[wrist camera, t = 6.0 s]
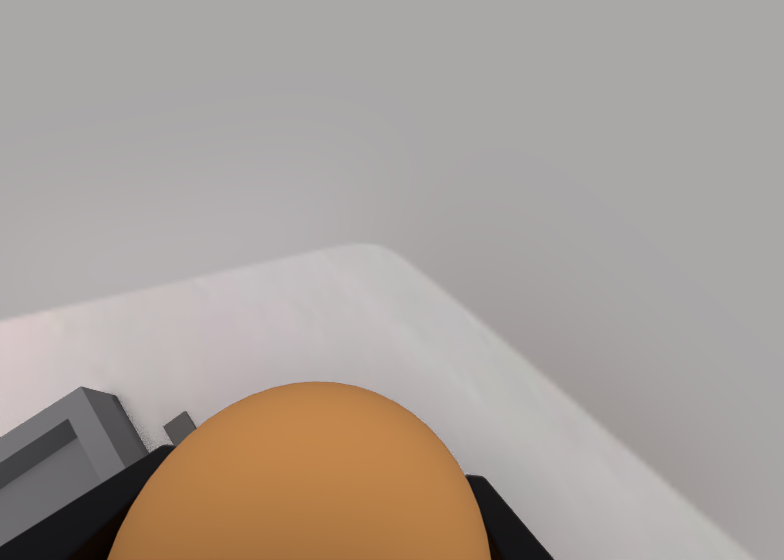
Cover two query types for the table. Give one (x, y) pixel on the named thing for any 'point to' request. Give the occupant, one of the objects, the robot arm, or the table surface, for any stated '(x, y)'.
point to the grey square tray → (62, 457)
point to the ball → (307, 485)
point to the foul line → (179, 428)
